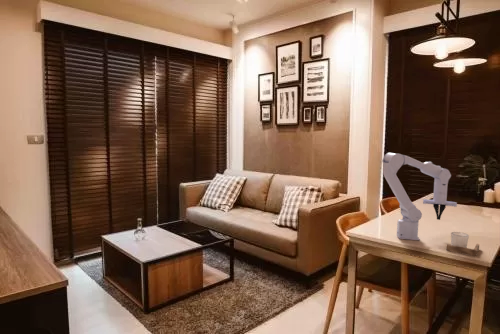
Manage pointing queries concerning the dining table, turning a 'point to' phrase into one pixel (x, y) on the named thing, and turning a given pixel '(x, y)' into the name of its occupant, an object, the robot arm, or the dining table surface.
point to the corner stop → (463, 250)
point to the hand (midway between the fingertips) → (438, 219)
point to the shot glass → (459, 239)
